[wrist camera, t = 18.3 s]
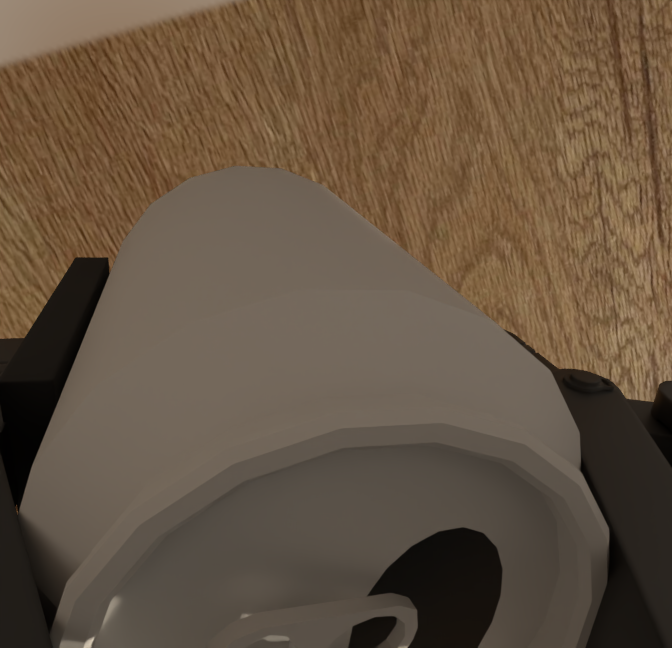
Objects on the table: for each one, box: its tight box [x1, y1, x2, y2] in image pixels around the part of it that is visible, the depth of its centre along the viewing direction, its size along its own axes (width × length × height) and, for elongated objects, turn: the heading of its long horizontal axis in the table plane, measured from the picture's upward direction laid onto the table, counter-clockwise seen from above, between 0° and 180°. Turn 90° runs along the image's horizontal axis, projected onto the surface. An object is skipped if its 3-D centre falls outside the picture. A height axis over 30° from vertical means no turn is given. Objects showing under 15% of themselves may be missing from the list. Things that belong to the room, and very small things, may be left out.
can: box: [18, 166, 610, 648], centre depth 11 cm, size 8×8×12 cm
